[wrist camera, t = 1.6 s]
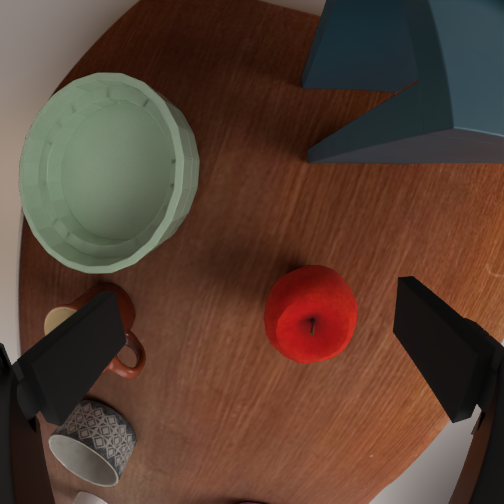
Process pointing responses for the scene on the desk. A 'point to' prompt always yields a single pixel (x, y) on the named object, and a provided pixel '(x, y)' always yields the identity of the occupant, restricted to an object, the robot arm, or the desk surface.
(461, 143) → the teal arch block
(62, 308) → the mug
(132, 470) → the desk surface
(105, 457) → the planter
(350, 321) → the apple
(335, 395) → the desk surface
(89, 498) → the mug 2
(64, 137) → the bowl
